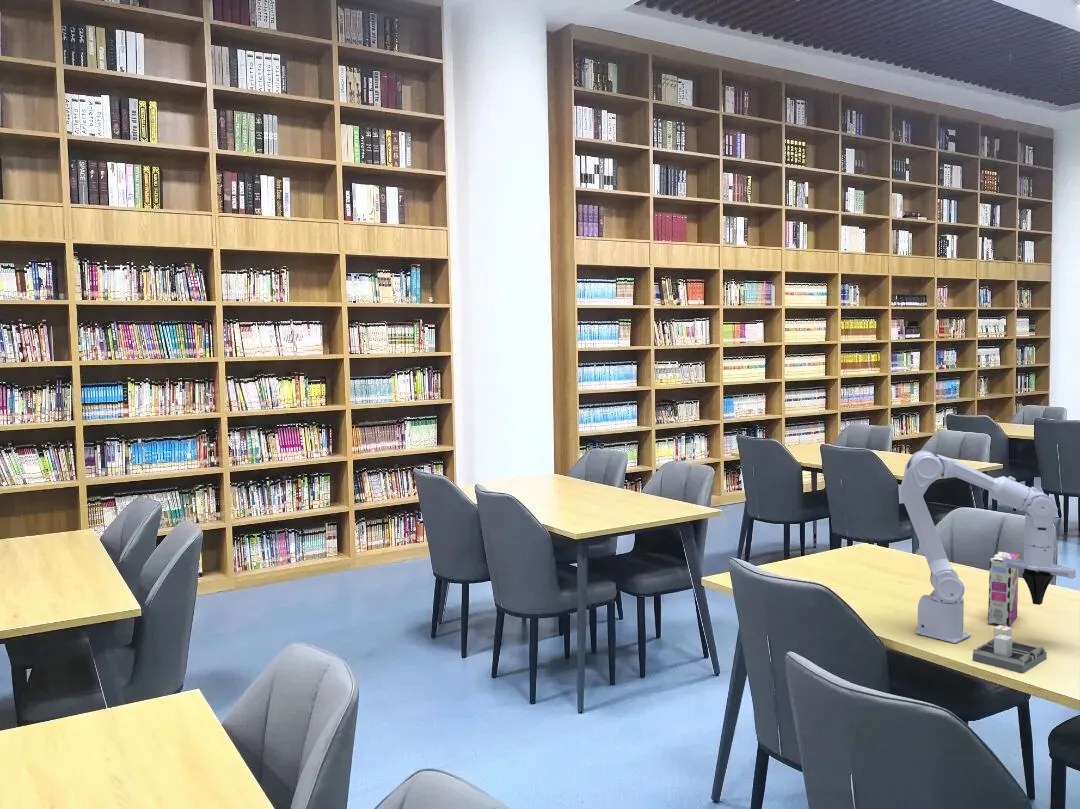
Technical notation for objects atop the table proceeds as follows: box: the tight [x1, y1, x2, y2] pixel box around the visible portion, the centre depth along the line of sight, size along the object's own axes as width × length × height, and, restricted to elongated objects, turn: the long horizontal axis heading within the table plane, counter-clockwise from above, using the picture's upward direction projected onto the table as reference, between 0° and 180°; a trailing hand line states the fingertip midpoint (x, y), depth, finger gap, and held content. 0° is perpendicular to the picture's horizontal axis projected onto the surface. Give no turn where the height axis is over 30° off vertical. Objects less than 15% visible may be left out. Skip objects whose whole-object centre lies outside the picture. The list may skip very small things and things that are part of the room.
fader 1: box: [993, 625, 1013, 638], centre depth 184 cm, size 2×3×4 cm
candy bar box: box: [987, 551, 1020, 627], centre depth 206 cm, size 11×5×16 cm, turn 141°
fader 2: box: [993, 634, 1013, 657], centre depth 178 cm, size 2×3×4 cm
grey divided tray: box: [972, 638, 1048, 674], centre depth 180 cm, size 10×13×3 cm
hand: (1037, 603), depth 189 cm, fingers closed
